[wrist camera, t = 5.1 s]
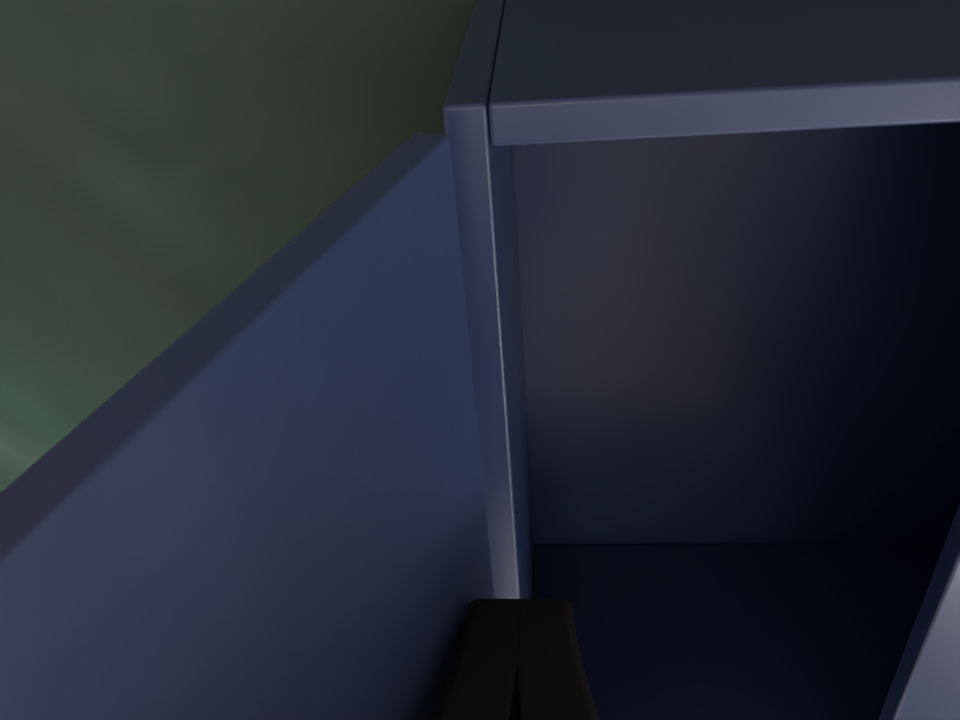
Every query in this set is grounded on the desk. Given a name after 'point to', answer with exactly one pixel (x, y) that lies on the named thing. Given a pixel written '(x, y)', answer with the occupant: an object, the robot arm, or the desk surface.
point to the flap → (270, 492)
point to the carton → (721, 344)
